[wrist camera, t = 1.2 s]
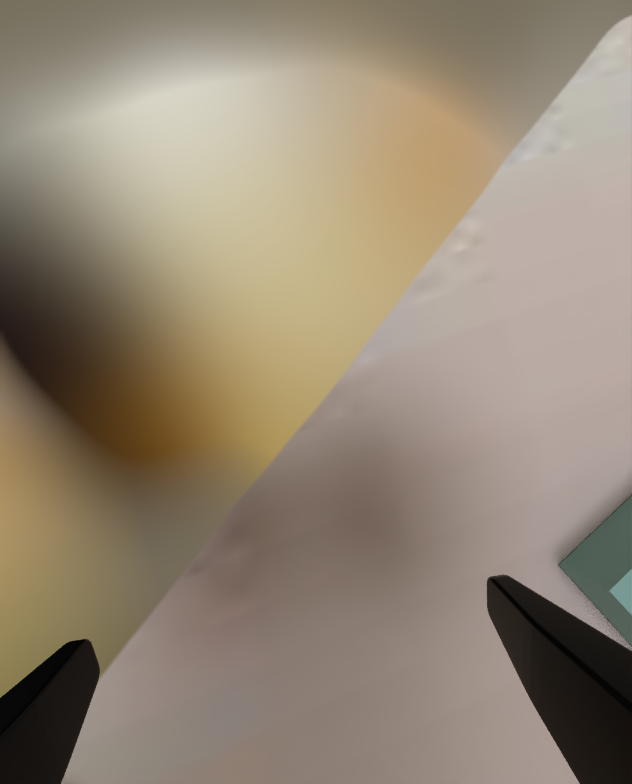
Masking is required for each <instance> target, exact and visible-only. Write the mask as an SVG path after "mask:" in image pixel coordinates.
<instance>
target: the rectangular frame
mask: <svg viewBox="0 0 632 784" xmlns="http://www.w3.org/2000/svg"><path fill="white" fill-rule="evenodd" d="M559 566H560V568H561V569H562V570H563V571H564V572H565V573H566V574H567V575H568V576H569V578H570V579H571V580H572V581H573V582H574V583H575V584H576V585H577V586H578V587H579V589H580V590H581V591H582V592H583V593H584V594H585V595H586V596H587V597H588V598H589V600H590V601H591V602H592V603H593V604H594V605H595V606H596V607H597V608H598V610H599V611H600V612H601V613H602V614H603V615H604V616H605V617H606V618H607V619H608V621H609V622H610V623H611V624H612V625H613V626H614V627H615V628H616V629H617V631H618V632H619V633H620V634H621V635H622V636H623V637H624V638H625V639H626V640H627V642H628V643H629V644H630V645H631V646H632V496H631V497H629V498H628V499H627V500H626V501H625V502H624V503H623V504H622V505H621V506H620V507H619V508H618V509H617V510H616V511H615V512H614V513H613V514H612V515H611V516H610V517H608V518H607V519H606V520H605V521H604V522H603V523H602V524H601V525H600V526H599V527H598V528H597V529H596V530H595V531H594V532H593V533H592V534H591V535H590V536H589V537H588V538H586V539H585V540H584V541H583V542H582V543H581V544H580V545H579V546H578V547H577V548H576V549H575V550H574V551H573V552H572V553H571V554H570V555H569V556H568V557H567V558H566V559H564V560H563V561H562V562H561V563H560V564H559Z"/></svg>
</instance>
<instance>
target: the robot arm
mask: <svg viewBox="0 0 632 784" xmlns="http://www.w3.org/2000/svg"><path fill="white" fill-rule="evenodd" d="M487 608H488V612H489V615H490V618H491V620H492V622H493V624H494V626H495V628H496V630H497V632H498V635H499V637H500V639H501V641H502V643H503V645H504V647H505V649H506V651H507V653H508V655H509V657H510V659H511V661H512V663H513V665H514V667H515V670H516V672H517V674H518V676H519V678H520V680H521V682H522V684H523V686H524V688H525V690H526V692H527V694H528V696H529V698H530V699H531V701H532V703H533V705H534V707H535V708H536V710H537V712H538V714H539V715H540V717H541V719H542V720H543V722H544V724H545V725H546V727H547V729H548V731H549V732H550V734H551V736H552V737H553V739H554V741H555V742H556V744H557V746H558V747H559V749H560V751H561V753H562V754H563V756H564V758H565V759H566V761H567V763H568V764H569V766H570V768H571V769H572V771H573V773H574V775H575V776H576V778H577V780H578V781H579V783H580V784H632V651H631V650H629V649H627V648H626V647H624V646H623V645H621V644H619V643H618V642H616V641H614V640H613V639H611V638H609V637H608V636H606V635H605V634H603V633H601V632H600V631H598V630H596V629H595V628H593V627H591V626H590V625H588V624H587V623H585V622H583V621H582V620H580V619H578V618H577V617H575V616H573V615H572V614H570V613H569V612H567V611H565V610H564V609H562V608H560V607H559V606H557V605H555V604H554V603H552V602H551V601H549V600H547V599H546V598H544V597H542V596H541V595H539V594H537V593H536V592H534V591H533V590H531V589H529V588H528V587H526V586H524V585H523V584H521V583H519V582H518V581H516V580H515V579H513V578H511V577H510V576H507V575H498V576H491V577H489V578H488V580H487ZM99 674H100V668H99V663H98V660H97V658H96V655H95V652H94V649H93V646H92V643H91V642H90V641H89V640H88V639H82V640H76V641H70V642H68V643H66V644H65V645H63V646H62V647H61V648H60V649H59V650H57V651H56V652H55V653H54V654H53V655H51V656H50V657H49V658H48V659H47V660H45V661H44V662H43V663H42V664H41V665H39V666H38V667H37V668H36V669H35V670H33V671H32V672H31V673H30V674H29V675H27V676H26V677H25V678H24V679H23V680H21V681H20V682H19V683H18V684H17V685H15V686H14V687H13V688H12V689H11V690H9V691H8V692H7V693H6V694H5V695H3V696H2V697H1V698H0V784H61V782H62V779H63V777H64V775H65V772H66V769H67V767H68V764H69V761H70V759H71V756H72V753H73V750H74V747H75V745H76V742H77V739H78V736H79V733H80V731H81V728H82V725H83V722H84V719H85V716H86V714H87V711H88V708H89V705H90V702H91V700H92V697H93V694H94V691H95V688H96V685H97V683H98V679H99Z"/></svg>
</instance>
